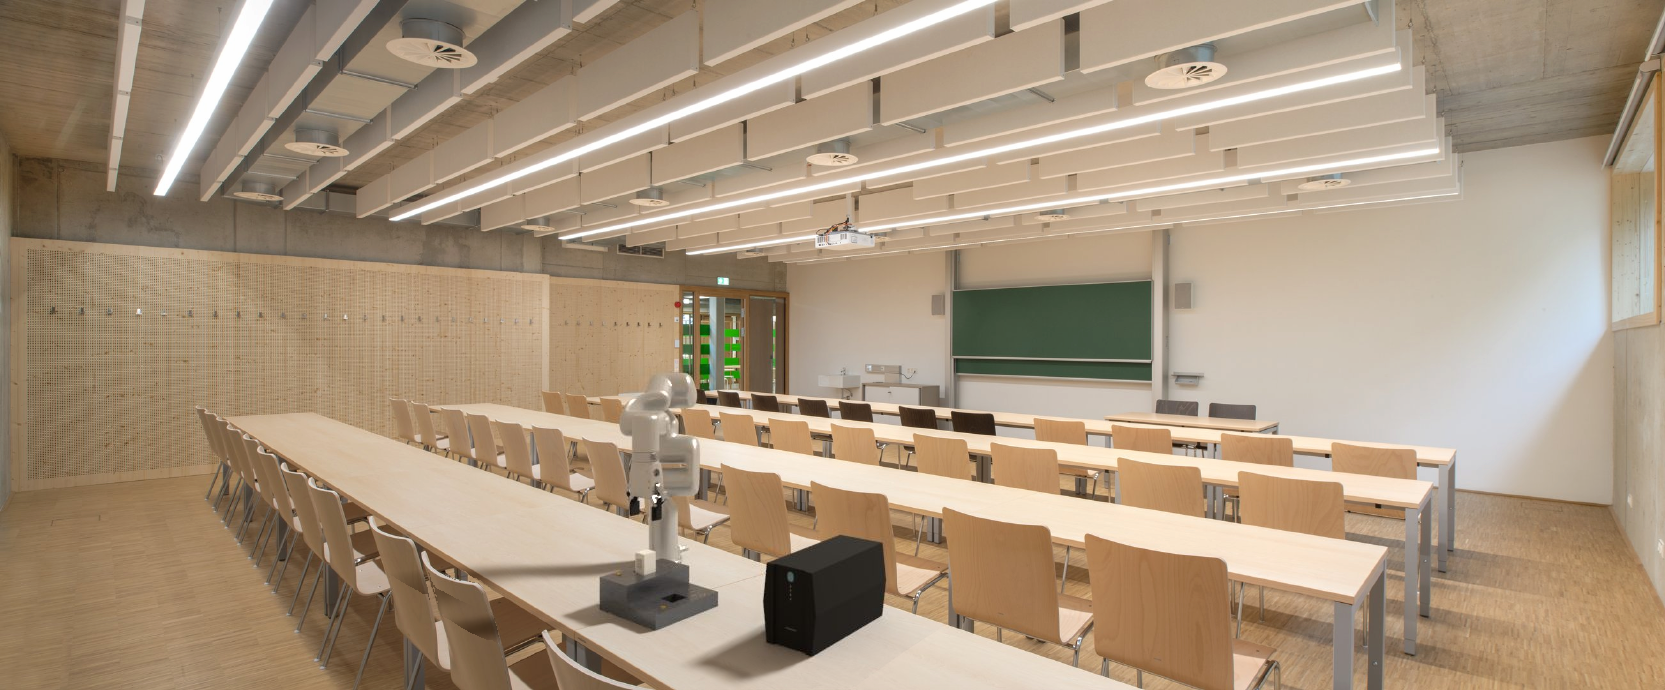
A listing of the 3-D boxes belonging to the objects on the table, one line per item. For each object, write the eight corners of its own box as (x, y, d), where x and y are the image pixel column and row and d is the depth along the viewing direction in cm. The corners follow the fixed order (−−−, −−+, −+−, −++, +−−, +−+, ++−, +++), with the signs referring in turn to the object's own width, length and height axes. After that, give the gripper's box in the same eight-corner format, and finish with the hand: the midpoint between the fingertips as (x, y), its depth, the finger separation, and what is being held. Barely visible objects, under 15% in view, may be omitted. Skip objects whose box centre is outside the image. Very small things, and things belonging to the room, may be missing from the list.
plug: (646, 576, 211) (646, 549, 211) (655, 579, 208) (655, 551, 208) (633, 580, 207) (633, 552, 207) (642, 583, 205) (642, 555, 205)
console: (662, 587, 220) (662, 557, 220) (718, 605, 206) (718, 572, 206) (599, 609, 203) (599, 575, 203) (655, 630, 188) (655, 594, 188)
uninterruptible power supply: (762, 641, 182) (763, 561, 182) (839, 602, 209) (840, 532, 209) (815, 658, 172) (816, 574, 172) (889, 614, 200) (889, 541, 200)
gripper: (676, 458, 205) (675, 519, 205) (637, 453, 216) (636, 511, 216) (654, 461, 199) (654, 524, 199) (615, 456, 210) (615, 515, 210)
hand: (645, 517), depth 208 cm, fingers open, 9 cm apart
